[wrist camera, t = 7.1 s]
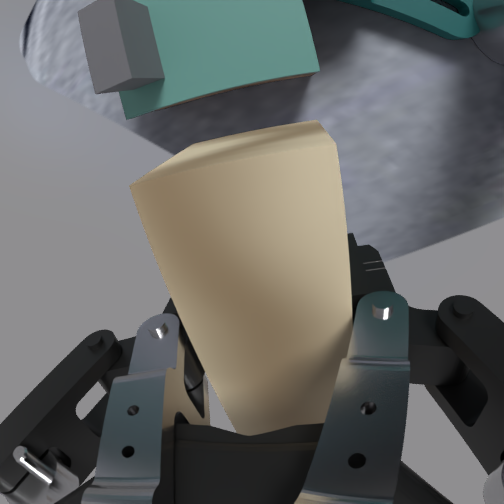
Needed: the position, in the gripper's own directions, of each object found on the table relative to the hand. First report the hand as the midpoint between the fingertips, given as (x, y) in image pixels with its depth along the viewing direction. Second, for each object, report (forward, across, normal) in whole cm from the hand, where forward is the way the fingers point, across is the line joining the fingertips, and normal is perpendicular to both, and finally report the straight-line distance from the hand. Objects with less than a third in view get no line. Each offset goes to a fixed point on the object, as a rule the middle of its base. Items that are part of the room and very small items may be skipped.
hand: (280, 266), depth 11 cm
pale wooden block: (0, 0, 0) cm, 0 cm away
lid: (+13, +4, -12) cm, 18 cm away
